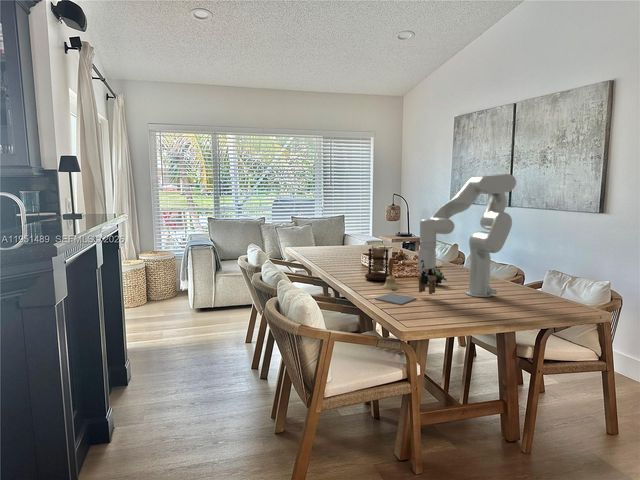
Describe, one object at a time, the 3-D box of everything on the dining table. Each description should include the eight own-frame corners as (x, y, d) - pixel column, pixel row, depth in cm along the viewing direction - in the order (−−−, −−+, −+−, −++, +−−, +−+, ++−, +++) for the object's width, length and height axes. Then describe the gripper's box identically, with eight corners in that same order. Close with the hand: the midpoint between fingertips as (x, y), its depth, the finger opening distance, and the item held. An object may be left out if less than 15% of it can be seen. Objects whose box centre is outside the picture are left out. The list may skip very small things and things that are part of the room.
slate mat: (416, 299, 198) (416, 298, 198) (401, 305, 187) (401, 303, 187) (391, 294, 207) (391, 293, 207) (375, 299, 197) (375, 298, 197)
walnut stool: (436, 292, 200) (436, 276, 199) (431, 294, 196) (431, 277, 195) (422, 290, 204) (423, 274, 203) (417, 292, 201) (418, 276, 200)
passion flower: (436, 293, 231) (450, 277, 228) (431, 294, 221) (446, 277, 219) (420, 280, 236) (434, 264, 233) (415, 280, 226) (429, 263, 223)
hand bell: (398, 289, 216) (399, 259, 215) (382, 289, 218) (382, 258, 216) (398, 286, 224) (399, 257, 223) (382, 285, 226) (383, 256, 224)
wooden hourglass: (390, 277, 247) (391, 244, 245) (391, 283, 232) (392, 247, 230) (365, 276, 249) (366, 243, 247) (364, 282, 234) (365, 246, 232)
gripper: (428, 242, 206) (428, 278, 208) (411, 246, 193) (411, 284, 196) (443, 243, 201) (442, 280, 203) (426, 247, 188) (425, 287, 191)
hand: (427, 282), depth 199 cm, fingers closed on walnut stool, 5 cm apart
